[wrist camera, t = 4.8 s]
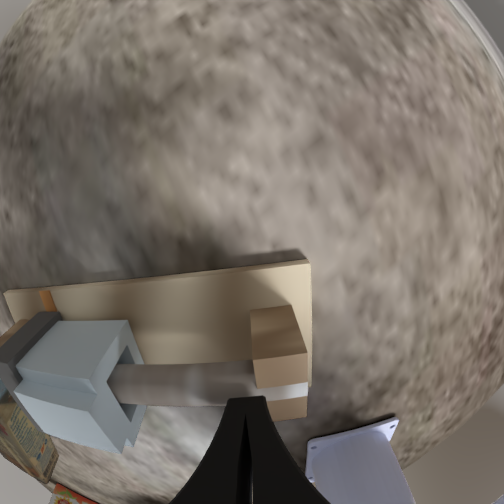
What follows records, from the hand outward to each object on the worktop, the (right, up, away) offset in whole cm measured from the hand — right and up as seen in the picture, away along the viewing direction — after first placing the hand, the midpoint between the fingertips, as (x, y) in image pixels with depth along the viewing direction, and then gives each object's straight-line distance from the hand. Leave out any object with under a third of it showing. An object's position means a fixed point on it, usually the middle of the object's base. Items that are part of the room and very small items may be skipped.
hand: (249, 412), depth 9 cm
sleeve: (-8, 0, +4) cm, 9 cm away
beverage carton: (-26, -11, +8) cm, 29 cm away
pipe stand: (-7, +1, +5) cm, 8 cm away
